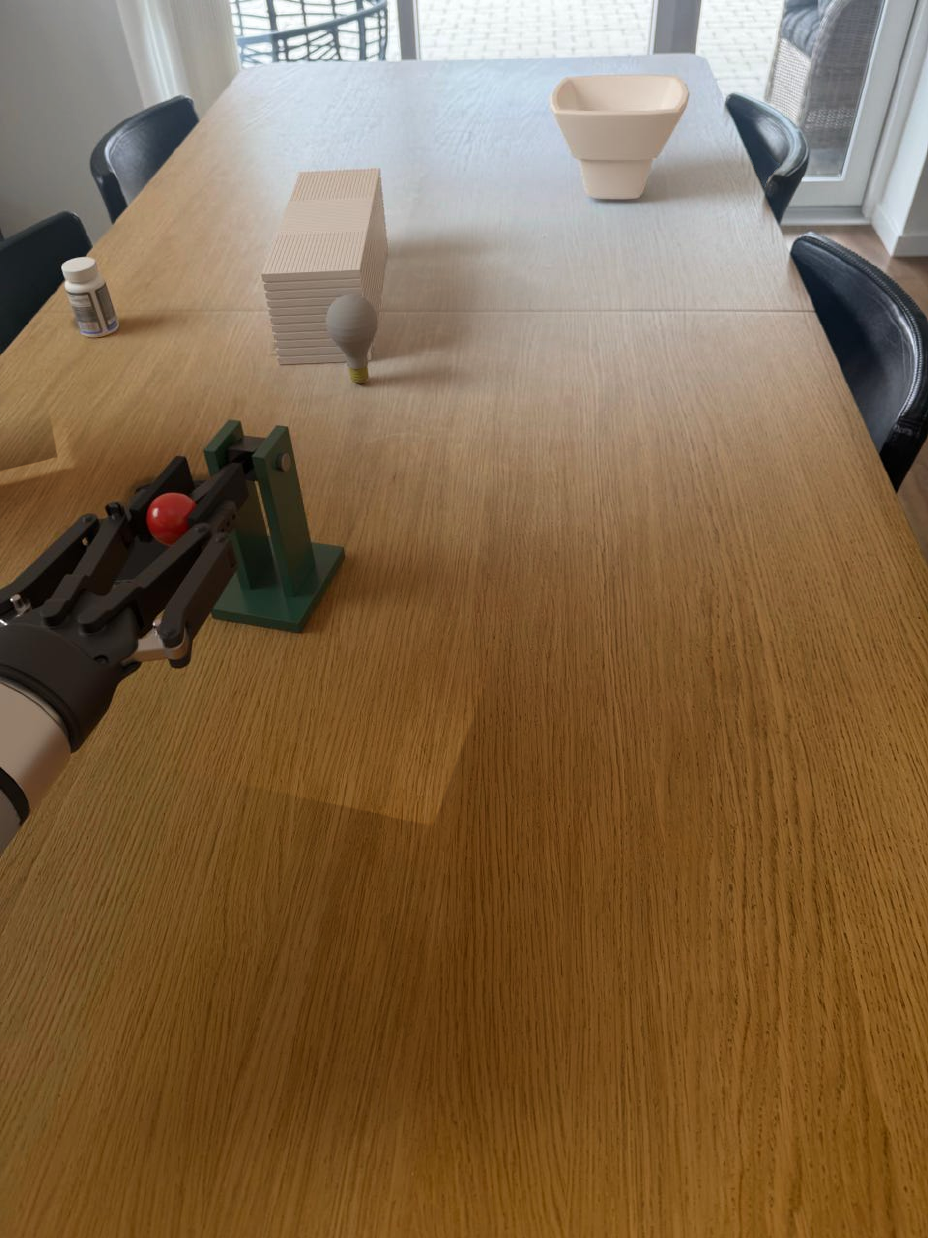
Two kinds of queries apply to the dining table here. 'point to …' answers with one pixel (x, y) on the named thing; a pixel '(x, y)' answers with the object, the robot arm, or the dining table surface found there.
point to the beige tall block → (324, 259)
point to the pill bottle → (89, 297)
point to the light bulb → (353, 332)
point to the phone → (143, 551)
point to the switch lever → (195, 495)
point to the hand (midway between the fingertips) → (212, 476)
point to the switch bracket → (272, 540)
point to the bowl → (617, 127)
